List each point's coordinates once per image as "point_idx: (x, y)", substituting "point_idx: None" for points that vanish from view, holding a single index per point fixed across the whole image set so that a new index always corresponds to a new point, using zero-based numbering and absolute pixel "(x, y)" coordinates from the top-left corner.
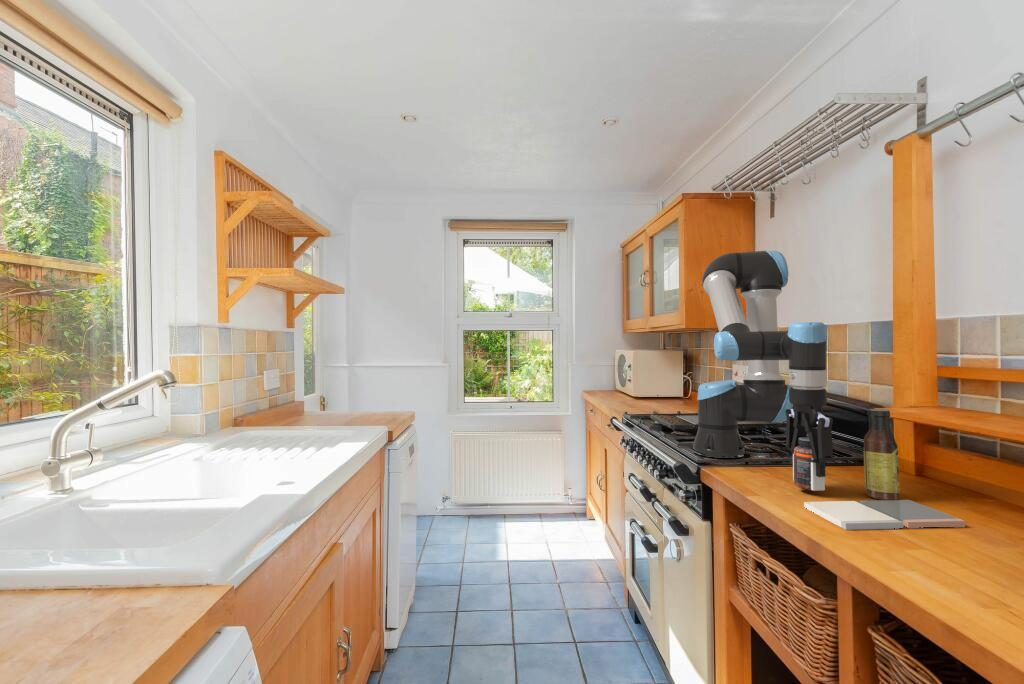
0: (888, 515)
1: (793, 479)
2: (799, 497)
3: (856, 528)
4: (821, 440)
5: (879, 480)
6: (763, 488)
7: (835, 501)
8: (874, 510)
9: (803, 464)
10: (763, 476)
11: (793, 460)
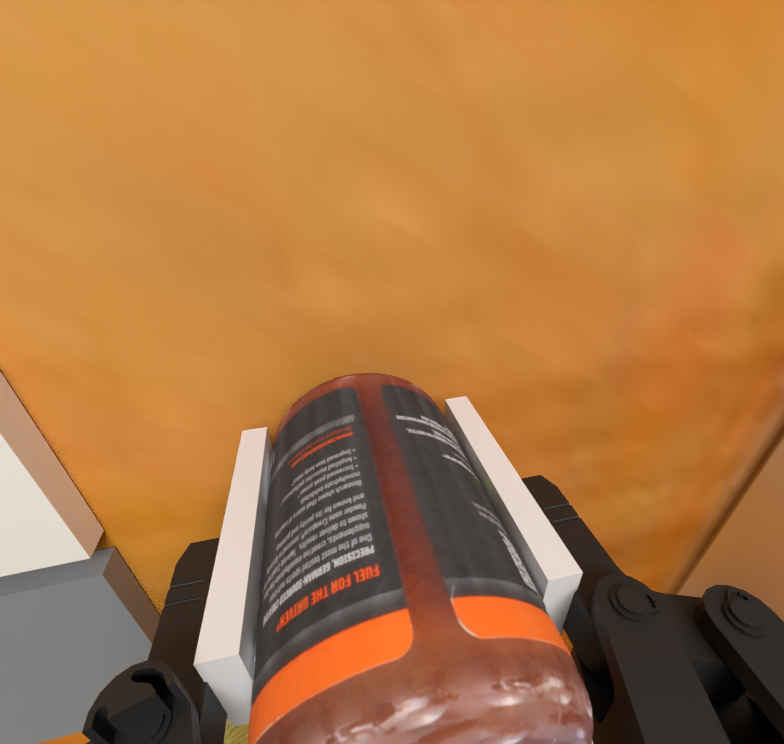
0: None
1: (465, 402)
2: (234, 321)
3: None
4: None
5: (232, 736)
6: (455, 147)
7: (23, 473)
8: None
9: (298, 554)
10: (688, 298)
11: (535, 514)
